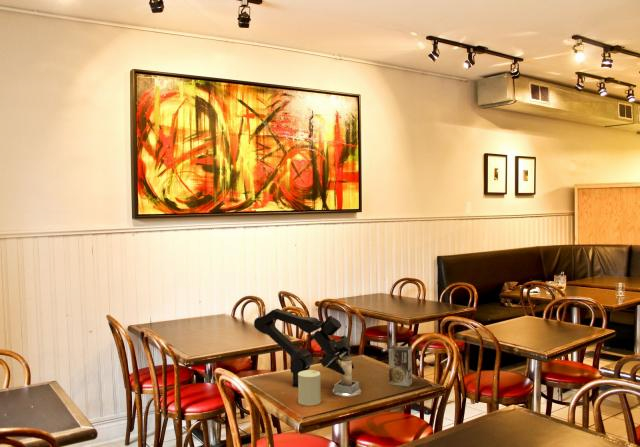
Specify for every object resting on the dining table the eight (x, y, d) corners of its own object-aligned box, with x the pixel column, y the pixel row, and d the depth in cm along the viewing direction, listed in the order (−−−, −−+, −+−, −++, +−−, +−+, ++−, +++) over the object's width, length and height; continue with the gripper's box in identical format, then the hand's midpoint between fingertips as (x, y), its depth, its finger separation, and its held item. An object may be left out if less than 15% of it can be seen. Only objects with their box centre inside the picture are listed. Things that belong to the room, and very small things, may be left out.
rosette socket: (327, 394, 229) (327, 385, 229) (339, 385, 240) (339, 377, 240) (354, 398, 224) (354, 389, 224) (365, 389, 234) (365, 381, 234)
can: (325, 401, 221) (325, 371, 221) (310, 407, 214) (309, 377, 214) (308, 396, 227) (308, 367, 227) (293, 402, 220) (293, 372, 220)
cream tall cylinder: (339, 391, 231) (339, 358, 230) (344, 387, 235) (343, 355, 234) (349, 392, 229) (349, 359, 228) (353, 389, 233) (353, 356, 232)
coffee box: (412, 382, 244) (412, 346, 243) (408, 387, 238) (408, 350, 237) (392, 380, 247) (392, 344, 247) (388, 384, 242) (388, 348, 241)
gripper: (327, 335, 225) (352, 365, 220) (346, 326, 241) (369, 354, 237) (310, 352, 228) (334, 382, 224) (330, 342, 245) (353, 369, 240)
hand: (348, 371), depth 231 cm, fingers open, 9 cm apart
